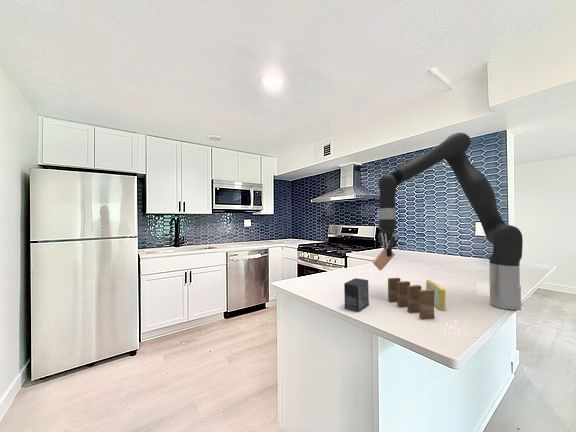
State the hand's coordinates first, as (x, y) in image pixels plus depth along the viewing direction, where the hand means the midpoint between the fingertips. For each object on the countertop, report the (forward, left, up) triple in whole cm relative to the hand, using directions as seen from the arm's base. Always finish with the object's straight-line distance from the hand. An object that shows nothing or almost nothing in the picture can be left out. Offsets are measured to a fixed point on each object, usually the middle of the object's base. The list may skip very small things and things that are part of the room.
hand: (387, 256), depth 112 cm
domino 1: (+4, +5, -4) cm, 7 cm away
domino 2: (-4, +4, -19) cm, 20 cm away
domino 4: (-13, +12, -19) cm, 26 cm away
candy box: (-18, -3, -19) cm, 26 cm away
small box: (+7, +20, -19) cm, 28 cm away
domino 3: (-8, +8, -19) cm, 22 cm away
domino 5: (-18, +16, -19) cm, 30 cm away
